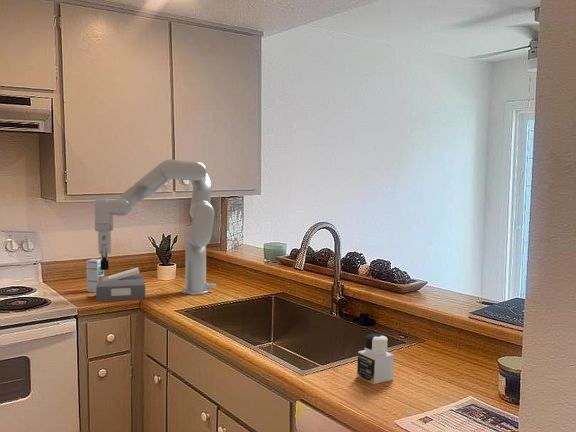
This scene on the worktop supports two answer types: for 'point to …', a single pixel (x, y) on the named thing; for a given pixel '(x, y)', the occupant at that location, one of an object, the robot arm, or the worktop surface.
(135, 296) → the breaker box
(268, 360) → the worktop surface
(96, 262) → the syrup box
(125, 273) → the rocker switch
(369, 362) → the medicine bottle
